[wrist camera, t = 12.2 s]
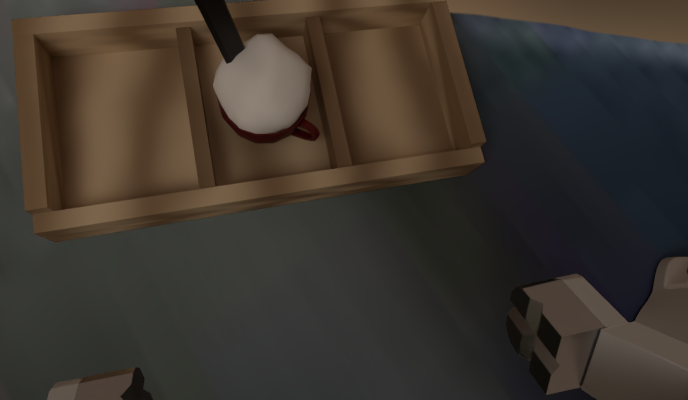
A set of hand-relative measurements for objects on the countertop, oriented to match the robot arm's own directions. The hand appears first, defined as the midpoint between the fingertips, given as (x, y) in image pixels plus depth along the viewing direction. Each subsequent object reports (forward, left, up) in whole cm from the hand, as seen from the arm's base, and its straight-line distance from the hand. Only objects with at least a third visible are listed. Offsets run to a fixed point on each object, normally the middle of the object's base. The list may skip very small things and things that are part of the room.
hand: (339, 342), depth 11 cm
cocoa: (-1, -16, -23) cm, 28 cm away
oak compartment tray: (-1, -16, -24) cm, 29 cm away
